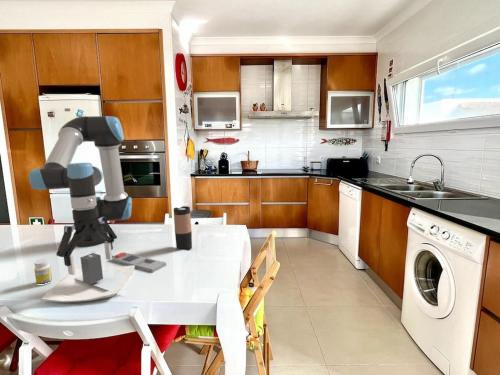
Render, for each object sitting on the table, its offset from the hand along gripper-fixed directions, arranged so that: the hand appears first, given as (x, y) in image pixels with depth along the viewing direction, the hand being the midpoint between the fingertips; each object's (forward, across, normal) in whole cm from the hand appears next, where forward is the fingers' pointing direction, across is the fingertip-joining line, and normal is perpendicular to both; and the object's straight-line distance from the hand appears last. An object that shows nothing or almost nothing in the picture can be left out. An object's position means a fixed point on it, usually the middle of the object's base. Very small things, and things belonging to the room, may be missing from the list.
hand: (91, 266), depth 100 cm
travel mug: (+8, +42, -5) cm, 43 cm away
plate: (+8, 0, 0) cm, 8 cm away
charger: (+5, 0, 0) cm, 5 cm away
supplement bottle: (+8, -7, +19) cm, 22 cm away
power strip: (+7, +19, +2) cm, 20 cm away
